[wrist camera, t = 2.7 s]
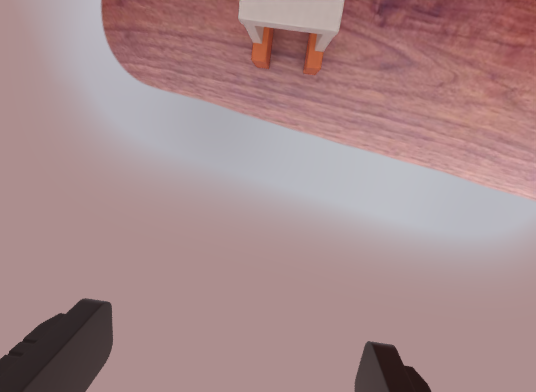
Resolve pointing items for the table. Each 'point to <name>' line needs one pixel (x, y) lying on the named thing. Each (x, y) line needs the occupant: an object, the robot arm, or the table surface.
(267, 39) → the orange tipped u frame
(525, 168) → the table surface
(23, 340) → the robot arm
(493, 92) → the table surface
